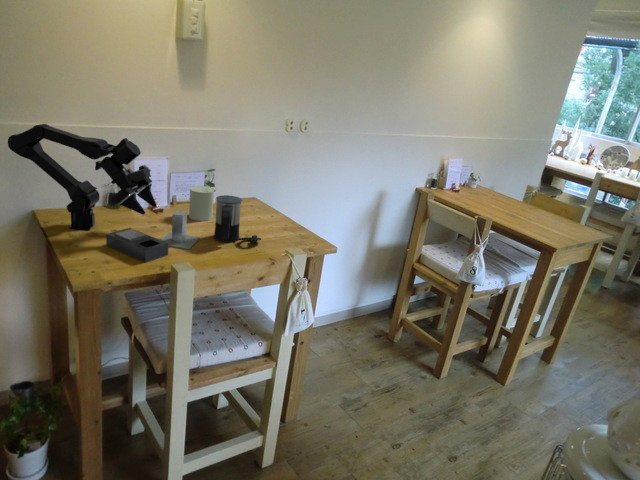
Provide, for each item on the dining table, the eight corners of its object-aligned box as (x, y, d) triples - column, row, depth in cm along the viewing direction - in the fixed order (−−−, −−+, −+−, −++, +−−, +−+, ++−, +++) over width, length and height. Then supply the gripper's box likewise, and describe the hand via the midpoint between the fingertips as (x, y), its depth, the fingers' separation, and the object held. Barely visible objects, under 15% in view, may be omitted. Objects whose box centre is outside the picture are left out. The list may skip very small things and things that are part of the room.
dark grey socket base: (106, 245, 156) (106, 232, 154) (129, 238, 164) (129, 226, 162) (145, 262, 148) (145, 248, 147) (168, 254, 156) (168, 241, 154)
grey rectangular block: (171, 241, 165) (172, 214, 161) (176, 237, 169) (177, 210, 165) (181, 243, 165) (182, 215, 161) (186, 238, 169) (187, 211, 165)
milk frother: (211, 233, 178) (213, 194, 173) (253, 232, 184) (256, 195, 179) (218, 248, 166) (221, 207, 161) (263, 247, 172) (267, 207, 167)
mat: (156, 244, 162) (156, 243, 162) (169, 233, 172) (169, 232, 172) (189, 249, 162) (189, 248, 162) (199, 238, 172) (199, 237, 172)
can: (200, 222, 187) (202, 192, 183) (183, 216, 191) (184, 186, 187) (217, 218, 194) (219, 189, 190) (200, 211, 199) (202, 183, 194)
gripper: (121, 164, 150) (156, 204, 153) (146, 153, 167) (177, 189, 171) (97, 184, 153) (131, 223, 156) (124, 172, 170) (154, 207, 174)
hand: (150, 209), depth 164 cm, fingers open, 9 cm apart
